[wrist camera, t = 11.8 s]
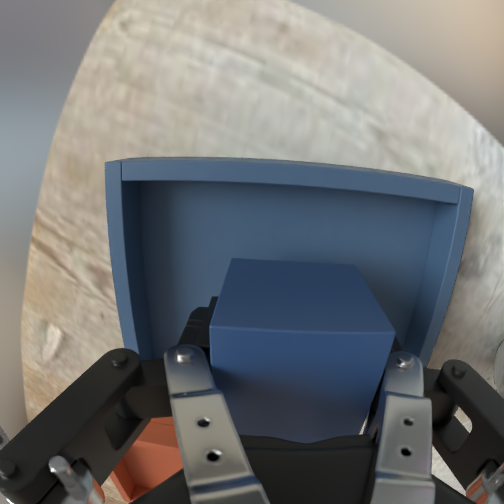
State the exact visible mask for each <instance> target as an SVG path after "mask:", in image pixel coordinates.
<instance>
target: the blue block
mask: <svg viewBox="0 0 504 504" xmlns="http://www.w3.org/2000/svg"><path fill="white" fill-rule="evenodd" d="M209 335H210V364H211V374H212V377H213V380H214V383H215V386H216V389H221V391H222V393H223V396H224V398H225V401H226V404H227V407H228V409H229V412H230V415H231V417H232V420H233V423H234V425H235V428H236V431H237V433H238V435H252V436H271V437H276V438H280V439H285V440H290V441H294V442H299V443H313V442H317V441H321V440H325V439H330V438H334V437H337V436H348V435H359V433H360V431H361V429H362V426H363V424H364V421H365V419H366V417H367V414H368V412H369V409H370V407H371V404H372V402H373V399H374V397H375V394H376V391H377V389H378V386H379V383H380V380H381V378H382V375H383V372H384V369H385V366H386V363H387V360H388V357H389V354H390V351H391V348H392V345H393V341H394V338H395V335H396V331H395V330H394V328H393V326H392V324H391V323H390V321H389V319H388V318H387V316H386V314H385V313H384V311H383V309H382V308H381V306H380V304H379V303H378V301H377V299H376V298H375V296H374V294H373V293H372V291H371V290H370V288H369V286H368V285H367V283H366V282H365V280H364V278H363V277H362V275H361V274H360V272H359V271H358V269H357V267H356V266H355V265H349V264H330V263H312V262H294V261H276V260H259V259H242V258H231V260H230V263H229V266H228V269H227V272H226V275H225V278H224V281H223V285H222V288H221V291H220V294H219V297H218V300H217V304H216V307H215V310H214V313H213V316H212V319H211V323H210V326H209Z"/></svg>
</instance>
